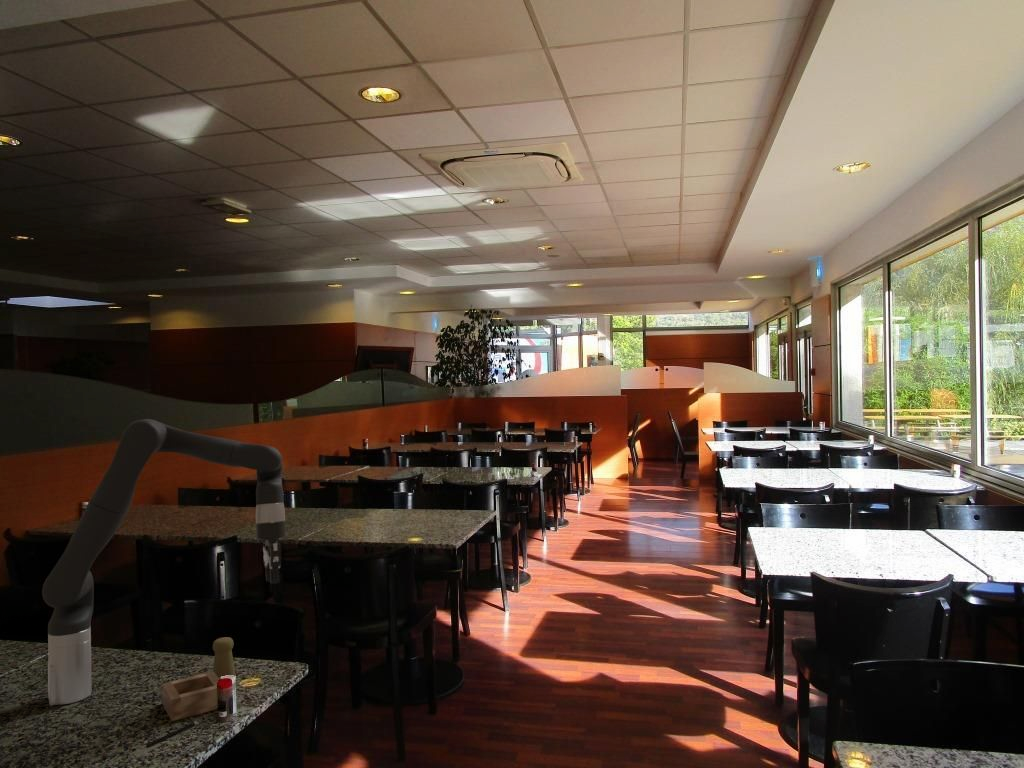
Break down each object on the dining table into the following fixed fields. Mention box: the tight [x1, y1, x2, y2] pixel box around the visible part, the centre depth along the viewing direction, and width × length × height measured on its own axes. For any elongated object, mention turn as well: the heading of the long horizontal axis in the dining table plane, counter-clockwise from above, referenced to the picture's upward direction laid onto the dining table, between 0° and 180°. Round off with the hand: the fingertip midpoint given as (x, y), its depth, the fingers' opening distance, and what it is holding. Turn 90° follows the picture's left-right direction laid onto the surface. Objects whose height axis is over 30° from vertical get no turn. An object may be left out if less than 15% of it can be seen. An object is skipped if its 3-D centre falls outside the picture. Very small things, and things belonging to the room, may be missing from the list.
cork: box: [212, 636, 237, 678], centre depth 187 cm, size 6×6×11 cm
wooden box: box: [161, 671, 219, 722], centre depth 171 cm, size 12×12×5 cm
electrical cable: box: [145, 720, 199, 749], centre depth 156 cm, size 12×1×1 cm, turn 150°
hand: (272, 582), depth 185 cm, fingers open, 8 cm apart
